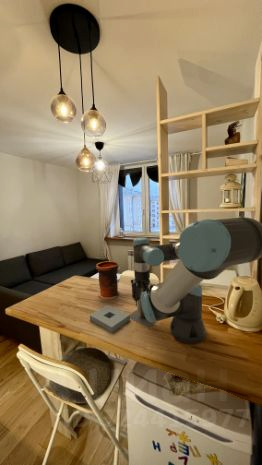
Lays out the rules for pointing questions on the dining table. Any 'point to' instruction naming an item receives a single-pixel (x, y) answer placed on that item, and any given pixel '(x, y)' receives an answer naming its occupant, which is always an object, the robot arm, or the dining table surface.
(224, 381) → the dining table surface
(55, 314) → the dining table surface
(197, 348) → the dining table surface
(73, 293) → the dining table surface
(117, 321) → the block
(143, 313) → the peg
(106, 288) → the vessel
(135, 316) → the mat
